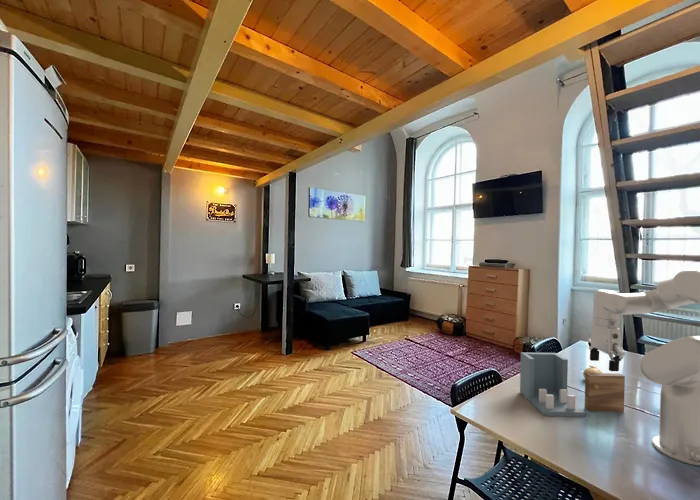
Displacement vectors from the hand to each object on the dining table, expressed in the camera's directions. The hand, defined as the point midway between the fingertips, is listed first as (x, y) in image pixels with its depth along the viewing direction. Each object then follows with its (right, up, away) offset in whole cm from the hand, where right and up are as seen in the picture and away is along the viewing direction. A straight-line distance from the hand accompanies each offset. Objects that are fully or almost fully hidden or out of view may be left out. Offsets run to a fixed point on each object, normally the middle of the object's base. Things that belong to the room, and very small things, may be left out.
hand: (603, 365), depth 121 cm
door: (0, -17, 0) cm, 17 cm away
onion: (+15, -17, +24) cm, 33 cm away
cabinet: (-18, -17, +5) cm, 25 cm away
